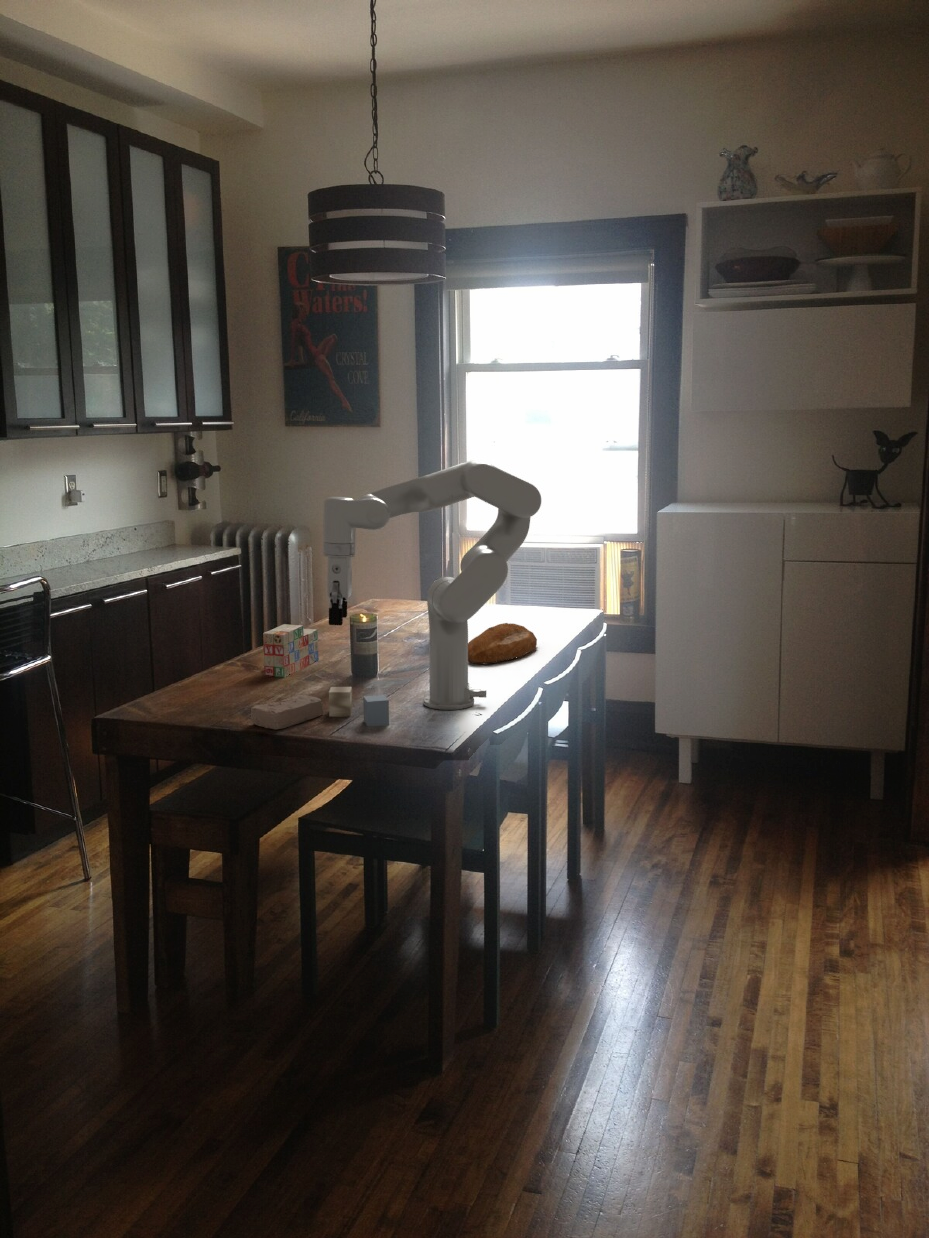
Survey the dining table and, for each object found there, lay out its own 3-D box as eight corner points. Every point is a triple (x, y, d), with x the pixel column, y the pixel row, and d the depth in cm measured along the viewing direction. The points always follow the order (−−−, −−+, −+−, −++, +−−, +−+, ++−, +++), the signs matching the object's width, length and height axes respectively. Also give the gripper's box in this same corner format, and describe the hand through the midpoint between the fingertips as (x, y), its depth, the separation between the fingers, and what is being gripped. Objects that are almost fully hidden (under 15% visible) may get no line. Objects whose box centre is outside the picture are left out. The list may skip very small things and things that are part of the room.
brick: (300, 710, 268) (299, 691, 267) (325, 715, 263) (324, 696, 263) (249, 726, 255) (249, 707, 254) (275, 732, 250) (274, 712, 249)
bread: (444, 662, 316) (444, 632, 315) (502, 640, 347) (502, 612, 345) (498, 670, 308) (498, 639, 306) (552, 646, 338) (553, 617, 336)
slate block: (384, 719, 260) (384, 694, 259) (389, 725, 255) (388, 700, 254) (363, 720, 258) (363, 696, 257) (367, 726, 254) (367, 701, 253)
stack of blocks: (299, 659, 320) (298, 617, 318) (319, 660, 318) (318, 619, 316) (264, 676, 300) (262, 632, 298) (284, 678, 298) (283, 633, 296)
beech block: (352, 710, 267) (351, 686, 266) (350, 716, 262) (349, 692, 261) (331, 710, 267) (331, 686, 266) (329, 716, 262) (328, 692, 261)
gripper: (351, 555, 250) (349, 628, 254) (358, 545, 267) (357, 615, 271) (318, 553, 250) (317, 627, 254) (327, 544, 267) (326, 613, 271)
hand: (338, 621), depth 262 cm, fingers open, 9 cm apart
